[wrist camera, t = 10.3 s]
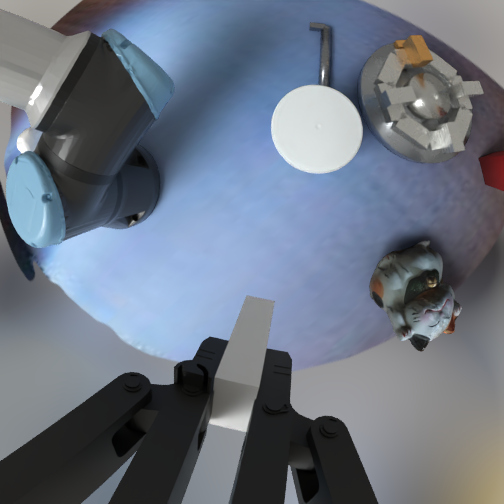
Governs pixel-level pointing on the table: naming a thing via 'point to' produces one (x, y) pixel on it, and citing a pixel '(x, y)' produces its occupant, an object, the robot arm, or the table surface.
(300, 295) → the table surface
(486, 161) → the french fries
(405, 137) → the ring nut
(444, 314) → the lucky cat figurine
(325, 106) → the supplement tub
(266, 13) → the table surface
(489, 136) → the table surface
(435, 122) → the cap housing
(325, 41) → the pin spanner
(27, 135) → the white animal figurine
